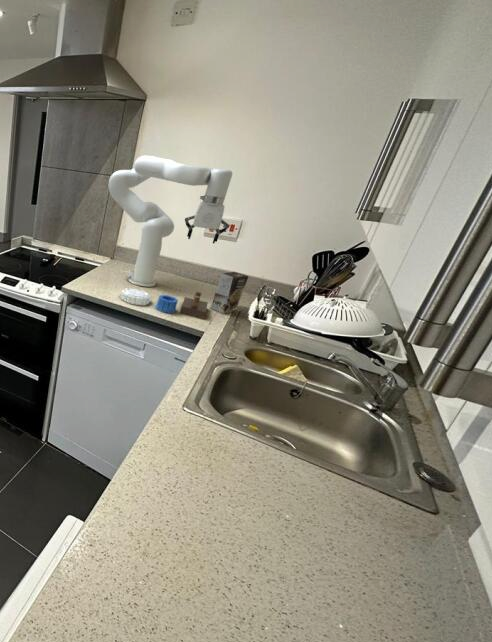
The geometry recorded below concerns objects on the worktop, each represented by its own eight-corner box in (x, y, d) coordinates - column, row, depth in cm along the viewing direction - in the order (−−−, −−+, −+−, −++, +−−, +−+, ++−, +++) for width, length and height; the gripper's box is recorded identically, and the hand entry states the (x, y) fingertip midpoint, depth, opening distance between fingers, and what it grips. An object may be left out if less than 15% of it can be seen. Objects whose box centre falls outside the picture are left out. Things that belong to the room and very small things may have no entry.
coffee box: (223, 314, 164) (236, 277, 157) (209, 307, 169) (221, 272, 163) (236, 311, 168) (249, 276, 162) (222, 305, 173) (234, 270, 167)
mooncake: (150, 299, 173) (152, 291, 172) (147, 307, 163) (149, 300, 162) (122, 292, 178) (124, 285, 177) (118, 300, 168) (119, 293, 167)
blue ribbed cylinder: (154, 309, 162) (157, 298, 160) (157, 304, 168) (160, 293, 166) (173, 314, 159) (176, 303, 157) (175, 309, 165) (178, 298, 163)
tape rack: (179, 312, 161) (184, 296, 158) (182, 303, 172) (187, 287, 169) (203, 319, 157) (209, 302, 154) (205, 308, 168) (211, 292, 165)
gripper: (190, 198, 163) (178, 238, 170) (237, 204, 155) (223, 246, 162) (191, 196, 169) (180, 235, 176) (237, 202, 161) (223, 243, 168)
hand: (201, 240), depth 169 cm, fingers open, 9 cm apart
